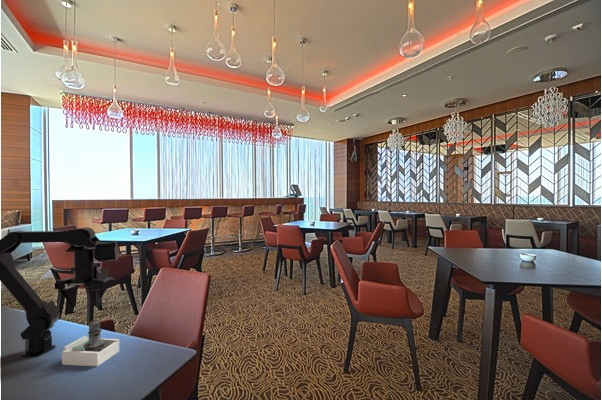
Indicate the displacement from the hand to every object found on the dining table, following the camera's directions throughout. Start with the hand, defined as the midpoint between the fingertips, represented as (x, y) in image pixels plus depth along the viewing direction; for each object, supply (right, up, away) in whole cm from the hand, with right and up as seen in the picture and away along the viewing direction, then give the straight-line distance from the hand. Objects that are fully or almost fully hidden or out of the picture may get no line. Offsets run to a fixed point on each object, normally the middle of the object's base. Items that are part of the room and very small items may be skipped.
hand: (85, 307), depth 101 cm
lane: (+9, -13, -9) cm, 18 cm away
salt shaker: (+10, -12, -9) cm, 18 cm away
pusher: (+5, -12, -9) cm, 16 cm away
